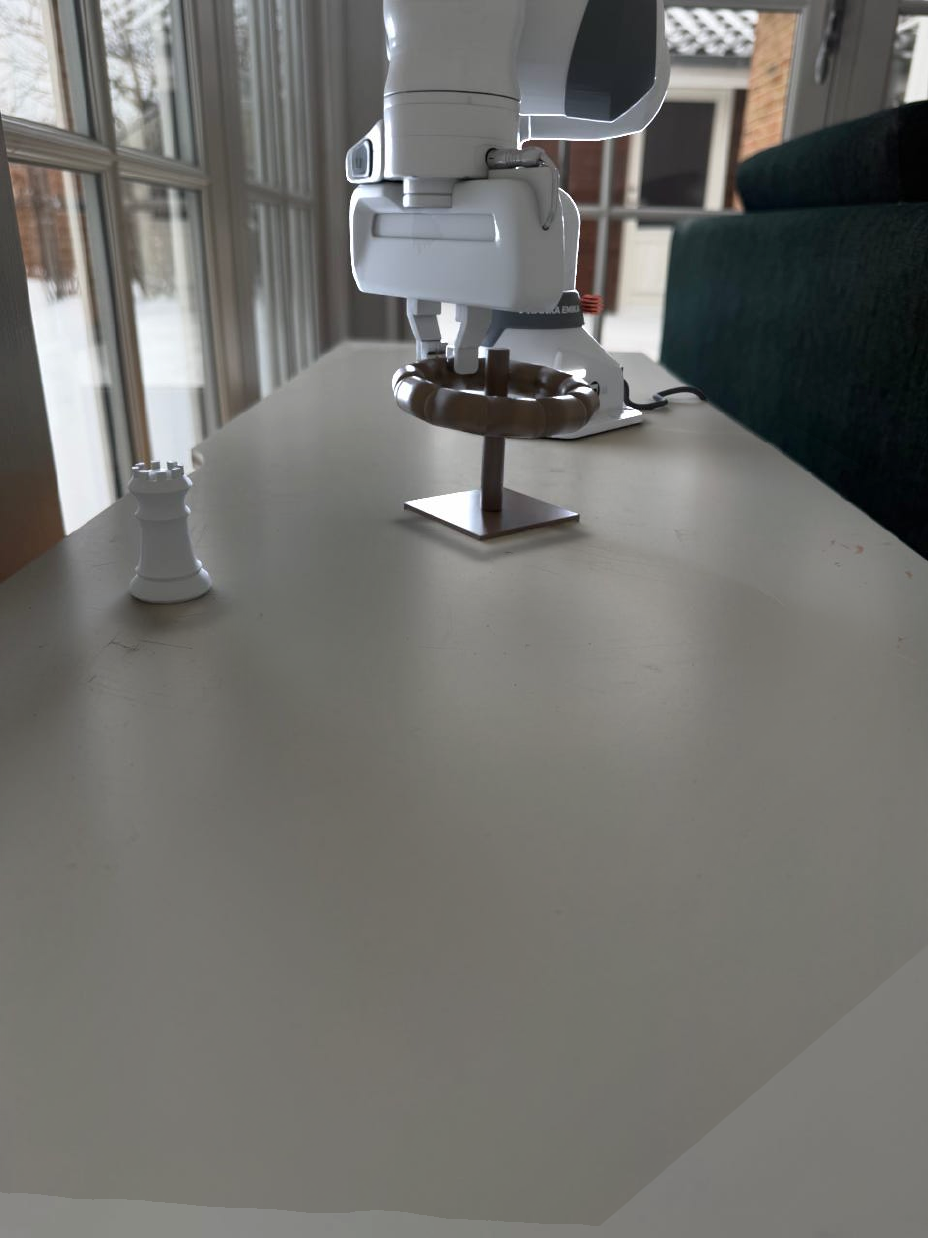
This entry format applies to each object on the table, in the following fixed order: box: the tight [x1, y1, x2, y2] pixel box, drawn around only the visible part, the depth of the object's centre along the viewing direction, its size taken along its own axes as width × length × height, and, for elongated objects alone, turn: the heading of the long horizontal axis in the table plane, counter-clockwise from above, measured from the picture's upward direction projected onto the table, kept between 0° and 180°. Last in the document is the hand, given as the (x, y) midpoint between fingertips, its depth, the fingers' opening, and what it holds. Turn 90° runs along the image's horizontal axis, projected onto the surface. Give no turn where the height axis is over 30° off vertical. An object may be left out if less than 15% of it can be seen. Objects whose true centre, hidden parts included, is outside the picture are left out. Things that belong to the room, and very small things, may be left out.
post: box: [403, 347, 581, 542], centre depth 61 cm, size 9×9×12 cm
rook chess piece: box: [126, 460, 213, 605], centre depth 47 cm, size 4×4×8 cm
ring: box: [391, 357, 600, 439], centre depth 60 cm, size 14×14×2 cm
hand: (446, 369), depth 63 cm, fingers closed on ring, 2 cm apart
